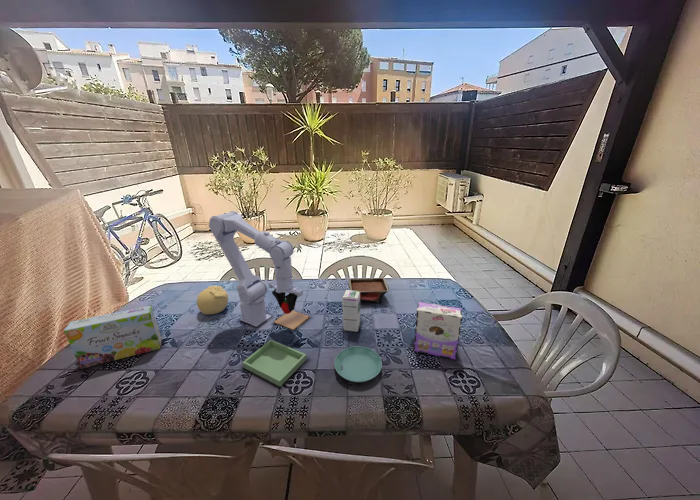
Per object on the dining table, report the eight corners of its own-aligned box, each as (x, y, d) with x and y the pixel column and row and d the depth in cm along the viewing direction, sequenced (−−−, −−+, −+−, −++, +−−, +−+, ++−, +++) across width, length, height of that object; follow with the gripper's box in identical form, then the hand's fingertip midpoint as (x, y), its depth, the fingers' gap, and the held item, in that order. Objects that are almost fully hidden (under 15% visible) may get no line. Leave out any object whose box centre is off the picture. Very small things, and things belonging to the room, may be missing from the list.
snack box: (79, 371, 84) (61, 330, 79) (86, 359, 89) (69, 320, 84) (160, 349, 93) (149, 311, 88) (162, 339, 98) (152, 303, 93)
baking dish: (386, 310, 119) (390, 289, 116) (346, 304, 118) (349, 283, 116) (382, 295, 133) (386, 277, 130) (346, 290, 132) (349, 271, 129)
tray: (243, 368, 85) (242, 362, 84) (271, 345, 95) (270, 339, 94) (280, 388, 78) (279, 381, 77) (306, 360, 88) (306, 354, 87)
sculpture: (232, 311, 115) (228, 289, 111) (201, 321, 108) (195, 297, 105) (227, 300, 124) (223, 279, 120) (197, 308, 117) (192, 286, 114)
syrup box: (358, 332, 102) (358, 298, 97) (342, 330, 103) (342, 296, 98) (360, 323, 107) (360, 290, 102) (345, 321, 108) (345, 289, 103)
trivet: (273, 323, 107) (273, 321, 107) (290, 311, 115) (290, 309, 115) (293, 331, 102) (293, 329, 102) (309, 317, 111) (309, 316, 110)
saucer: (336, 351, 92) (336, 345, 91) (379, 352, 91) (380, 346, 90) (332, 387, 78) (332, 380, 77) (383, 388, 78) (384, 381, 77)
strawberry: (279, 312, 101) (277, 301, 99) (287, 307, 104) (286, 296, 103) (288, 316, 99) (287, 304, 97) (296, 310, 102) (295, 299, 101)
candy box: (455, 349, 93) (462, 307, 87) (455, 360, 88) (463, 317, 82) (414, 340, 97) (418, 300, 91) (412, 351, 92) (416, 309, 86)
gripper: (260, 275, 96) (265, 308, 101) (292, 284, 90) (295, 319, 94) (275, 268, 102) (278, 299, 107) (305, 276, 95) (307, 309, 100)
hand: (287, 308), depth 101 cm, fingers closed on strawberry, 4 cm apart
